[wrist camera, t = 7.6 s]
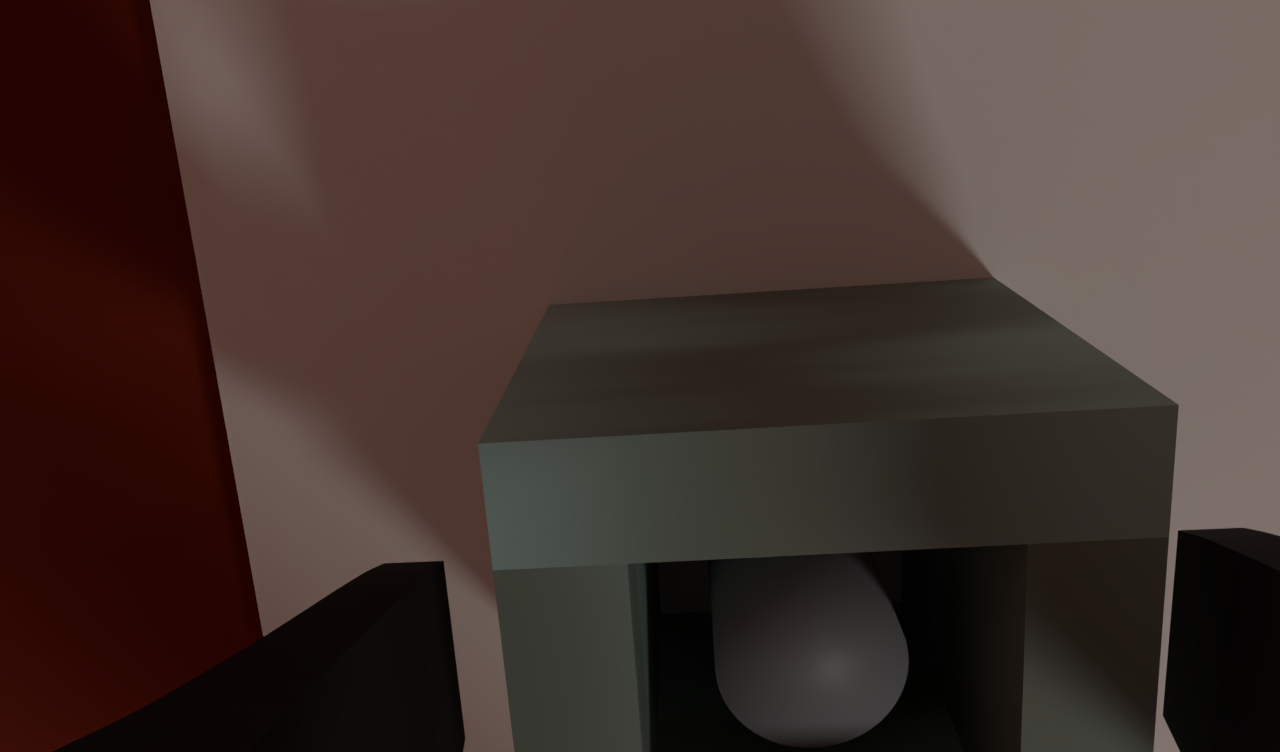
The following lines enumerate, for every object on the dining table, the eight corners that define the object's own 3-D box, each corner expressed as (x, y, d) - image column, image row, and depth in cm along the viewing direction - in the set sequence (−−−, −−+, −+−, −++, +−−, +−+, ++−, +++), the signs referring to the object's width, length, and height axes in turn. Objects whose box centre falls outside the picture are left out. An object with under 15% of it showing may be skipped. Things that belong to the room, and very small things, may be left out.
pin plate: (1838, -694, 11) (2703, -1254, 6) (1532, 822, 16) (1885, 1135, 11) (88, -531, 12) (-294, -914, 7) (326, 856, 17) (193, 1160, 12)
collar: (993, 278, 13) (1179, 404, 8) (985, 671, 15) (1136, 973, 10) (549, 304, 13) (477, 444, 8) (586, 689, 15) (542, 990, 10)
